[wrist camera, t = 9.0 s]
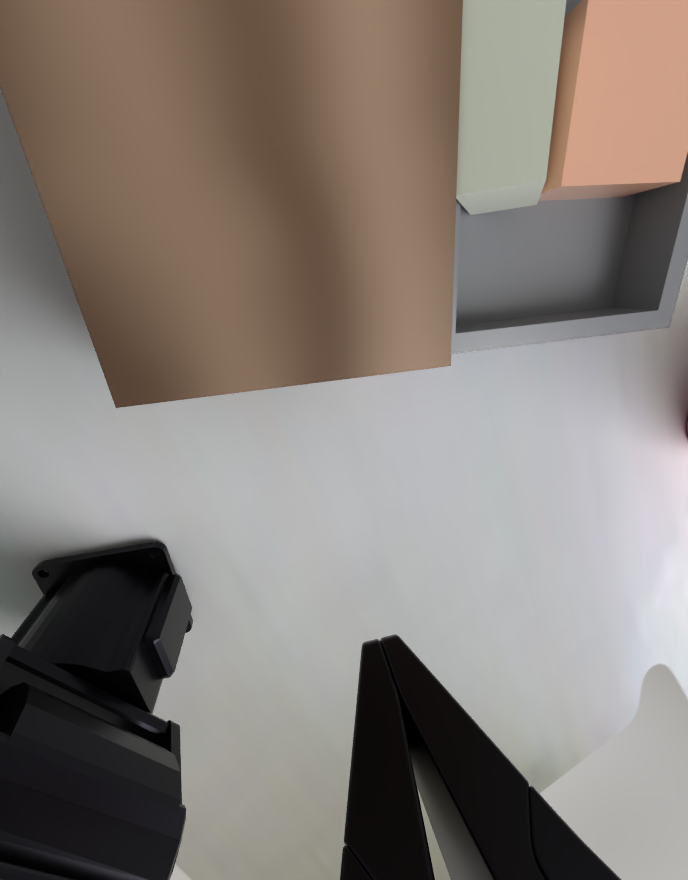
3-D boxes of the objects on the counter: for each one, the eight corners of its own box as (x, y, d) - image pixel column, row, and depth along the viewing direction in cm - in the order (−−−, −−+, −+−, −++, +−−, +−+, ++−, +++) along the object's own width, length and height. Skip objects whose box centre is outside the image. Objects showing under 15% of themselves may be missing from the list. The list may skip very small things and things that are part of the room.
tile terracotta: (679, 181, 14) (622, 196, 16) (727, -3, 12) (654, 45, 14) (561, 186, 13) (519, 201, 15) (589, -7, 11) (536, 43, 13)
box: (412, 345, 18) (436, 355, 15) (407, -177, 11) (448, -328, 8) (612, 321, 19) (669, 327, 16) (711, -159, 12) (832, -285, 10)
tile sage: (454, 196, 11) (546, 179, 10) (460, -38, 9) (576, -87, 8) (470, 215, 15) (536, 204, 14) (477, 57, 13) (555, 32, 12)
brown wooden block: (162, 374, 16) (116, 407, 12) (-8, -201, 10) (-255, -624, 5) (406, 345, 18) (450, 365, 13) (398, -177, 11) (479, -499, 7)
